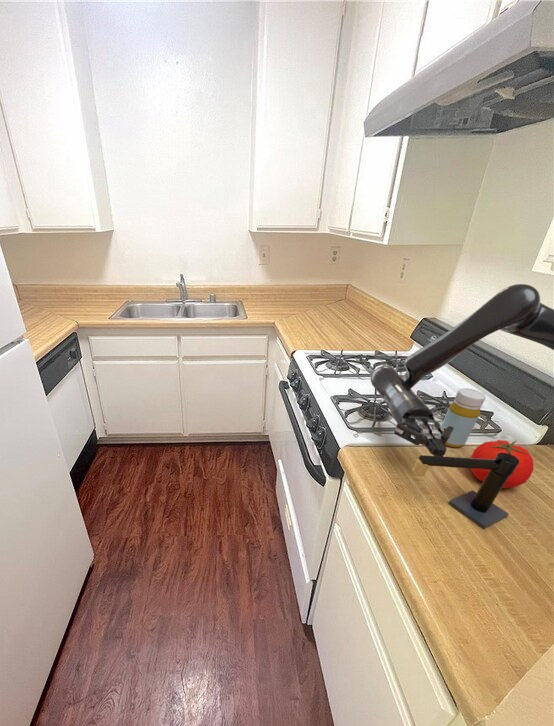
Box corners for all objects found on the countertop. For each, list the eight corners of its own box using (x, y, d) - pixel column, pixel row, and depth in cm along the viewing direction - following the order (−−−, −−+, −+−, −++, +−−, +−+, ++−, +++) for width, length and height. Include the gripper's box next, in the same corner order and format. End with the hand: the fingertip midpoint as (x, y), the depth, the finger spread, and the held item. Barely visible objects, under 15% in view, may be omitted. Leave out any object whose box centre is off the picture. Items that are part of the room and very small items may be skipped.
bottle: (456, 451, 93) (480, 402, 84) (431, 439, 97) (451, 391, 89) (468, 443, 96) (492, 395, 88) (443, 431, 101) (464, 385, 92)
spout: (500, 472, 71) (512, 453, 68) (511, 484, 68) (524, 464, 65) (409, 466, 72) (417, 447, 69) (416, 478, 69) (424, 458, 66)
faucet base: (470, 493, 79) (492, 455, 73) (507, 517, 73) (533, 477, 67) (448, 503, 76) (468, 464, 70) (483, 529, 70) (509, 489, 64)
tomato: (513, 472, 86) (534, 438, 80) (526, 502, 77) (551, 466, 71) (459, 460, 90) (475, 426, 84) (466, 487, 81) (485, 452, 75)
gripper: (386, 396, 83) (413, 436, 69) (442, 399, 83) (482, 440, 68) (378, 423, 87) (402, 466, 73) (431, 426, 87) (466, 470, 72)
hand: (440, 453), depth 70 cm, fingers closed
